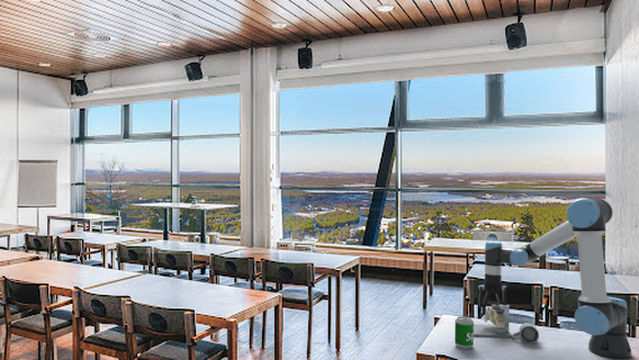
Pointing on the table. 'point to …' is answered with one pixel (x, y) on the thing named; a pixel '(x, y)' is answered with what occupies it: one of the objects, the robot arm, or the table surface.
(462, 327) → the soda can
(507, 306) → the block
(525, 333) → the ceramic mug
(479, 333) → the board
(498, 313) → the lever link
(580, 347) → the table surface
